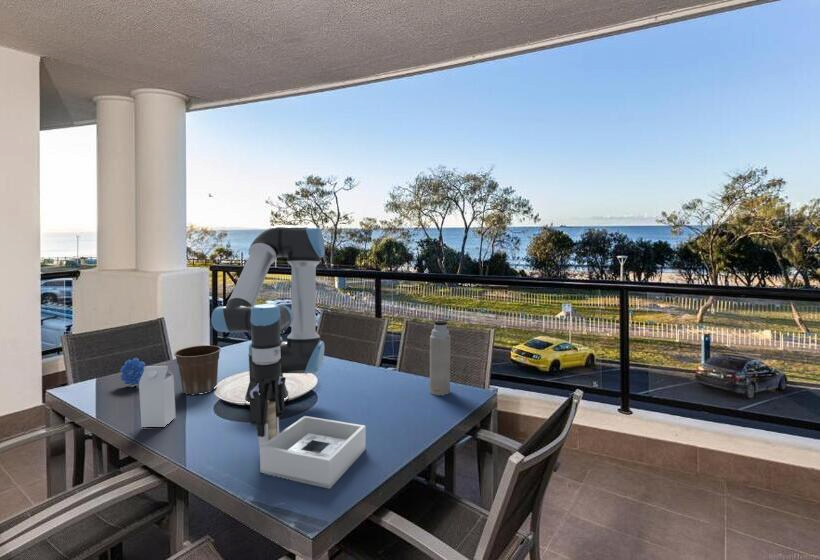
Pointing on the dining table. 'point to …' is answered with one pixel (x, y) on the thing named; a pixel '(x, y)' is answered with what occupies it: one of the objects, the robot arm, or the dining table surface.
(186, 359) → the plant pot
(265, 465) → the box
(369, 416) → the dining table surface
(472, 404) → the dining table surface
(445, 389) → the thermos bottle
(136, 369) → the grapes
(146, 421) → the milk carton
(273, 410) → the peg
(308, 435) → the bore plate
